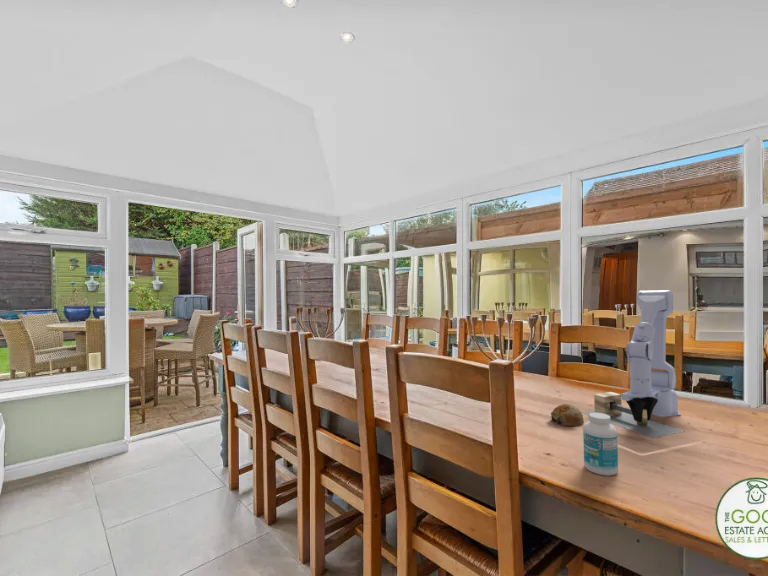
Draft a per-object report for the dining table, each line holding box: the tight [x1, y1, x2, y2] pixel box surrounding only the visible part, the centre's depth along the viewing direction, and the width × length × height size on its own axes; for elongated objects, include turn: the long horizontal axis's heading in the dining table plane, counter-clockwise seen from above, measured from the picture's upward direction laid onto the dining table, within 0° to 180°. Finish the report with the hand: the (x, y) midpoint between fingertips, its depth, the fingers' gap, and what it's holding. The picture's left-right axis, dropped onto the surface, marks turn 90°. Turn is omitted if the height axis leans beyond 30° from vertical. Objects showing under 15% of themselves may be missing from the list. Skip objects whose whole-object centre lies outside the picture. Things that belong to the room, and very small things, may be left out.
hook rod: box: [610, 402, 648, 426], centre depth 129 cm, size 3×16×5 cm, turn 18°
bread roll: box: [550, 403, 585, 428], centre depth 129 cm, size 10×10×8 cm
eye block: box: [593, 391, 623, 416], centre depth 135 cm, size 8×4×7 cm, turn 109°
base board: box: [581, 409, 686, 439], centre depth 127 cm, size 14×26×1 cm, turn 19°
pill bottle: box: [582, 413, 619, 476], centre depth 95 cm, size 8×7×14 cm
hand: (642, 420), depth 123 cm, fingers closed on hook rod, 3 cm apart
